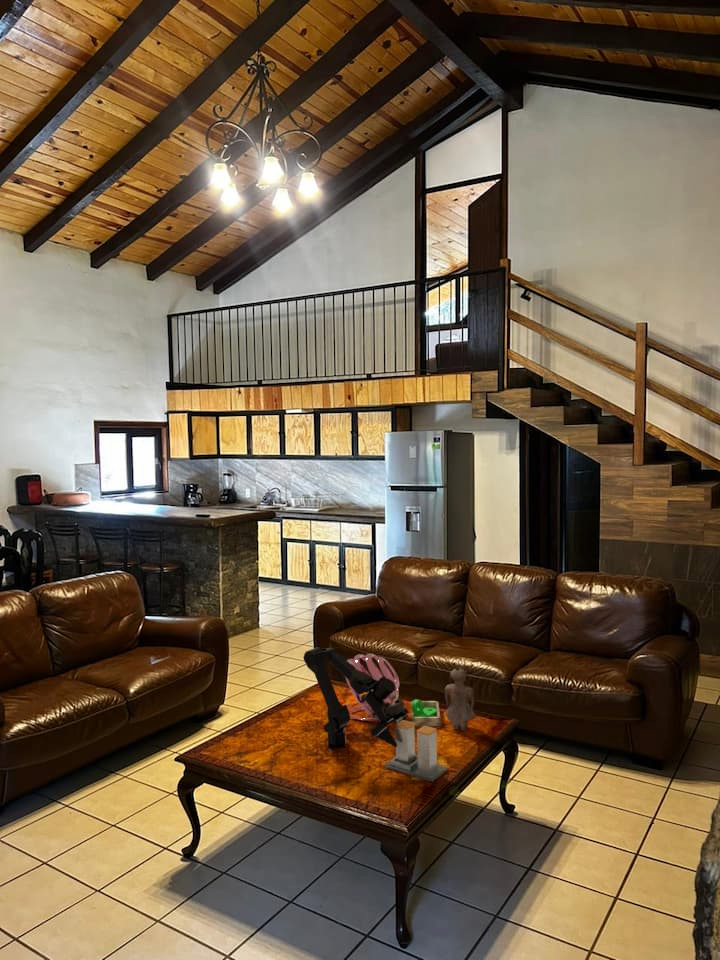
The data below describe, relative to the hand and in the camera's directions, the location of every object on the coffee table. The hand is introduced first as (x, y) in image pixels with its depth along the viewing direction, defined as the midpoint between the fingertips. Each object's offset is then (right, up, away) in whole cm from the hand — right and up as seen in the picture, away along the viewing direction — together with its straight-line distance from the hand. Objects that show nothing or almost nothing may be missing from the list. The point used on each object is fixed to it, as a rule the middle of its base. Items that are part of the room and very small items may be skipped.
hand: (403, 741), depth 259 cm
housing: (+4, -9, -2) cm, 10 cm away
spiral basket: (-11, -6, +47) cm, 48 cm away
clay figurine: (+25, -6, +32) cm, 41 cm away
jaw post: (+1, -8, 0) cm, 8 cm away
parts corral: (+12, -6, +43) cm, 45 cm away
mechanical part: (+12, -6, +45) cm, 47 cm away
